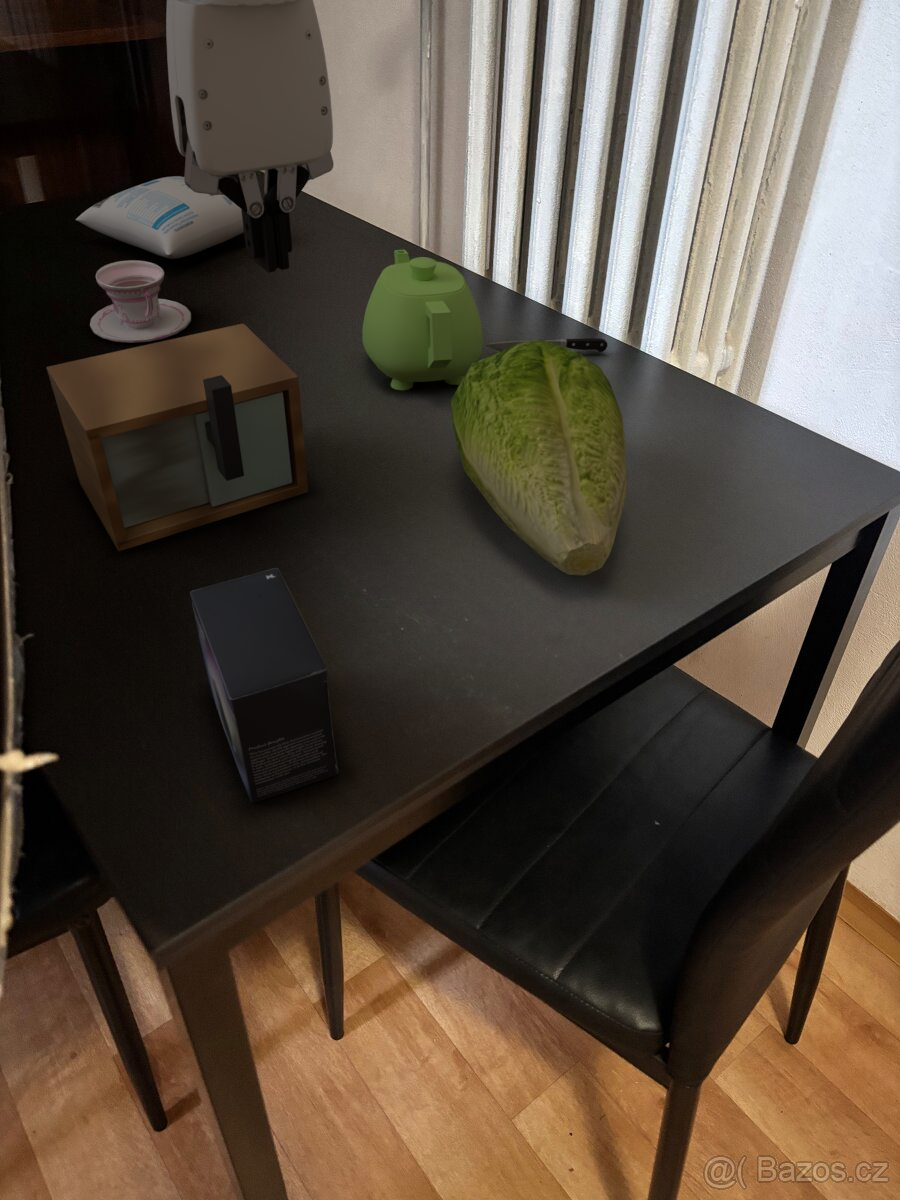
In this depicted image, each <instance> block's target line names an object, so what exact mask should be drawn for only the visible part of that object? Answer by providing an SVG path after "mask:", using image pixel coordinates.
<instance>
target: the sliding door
mask: <svg viewBox="0 0 900 1200" xmlns="http://www.w3.org/2000/svg"><path fill="white" fill-rule="evenodd" d="M203 383H204V389H205V395H206V401H207V407H208V410H207V411H204V412H200V413H196V414H194V415H195V420H196V426H197V431H198V437H199V443H200V448H201V454H202V459H203V465H204V471H205V476H206V482H207V487H208V493H209V499H210V504H211V505H212V507H214V506H217V505H221V504H224V503H227V502H231V501H234V500H237V499H240V498H244V497H247V496H250V495H253V494H257V493H260V492H263V491H266V490H270V489H273V488H276V487H280V486H283V485H286V484H289V483H292V475H291V465H290V455H289V446H288V436H287V427H286V417H285V407H284V398H283V392H282V391H281V392H277V393H273V394H269V395H265V396H261V397H258V398H254V399H250V400H246V401H242V402H238V403H234V401H233V395H232V388H231V385H230V384H229V382H228V381H227V380H226V379H225V378H224V377H223V376H222V375H220V376H216V377H211V378H207V379H203Z"/></svg>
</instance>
